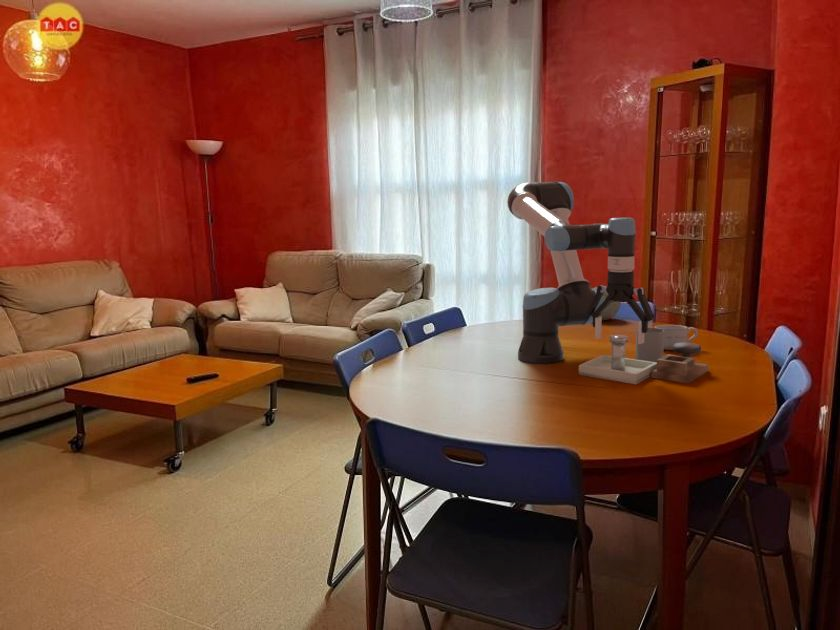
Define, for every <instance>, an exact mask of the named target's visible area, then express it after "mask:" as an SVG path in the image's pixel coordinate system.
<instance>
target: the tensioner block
mask: <svg viewBox="0 0 840 630" xmlns="http://www.w3.org/2000/svg"><path fill="white" fill-rule="evenodd" d="M672 351H673V352H675V353H677V354H681V355H677V354H676V355H675V354H665V355H663V357H661V358H659V359H657V368H656V369H654V370H652V371H651V377H650V378H653V379H660V380H666V381H671V382H678V383H685V384H691V383H692V382H694V381H695V380H698V378H700V377H701V376H703V375H704V374H706V373H707V372H708V371H709V364H706V363H705V364H703V363H697V362H696V357H692V355H696V354H697V355H698V354H700V353H702V346H701V345H699V344H698V343H694V342H688V343H676V344H674V345H673V350H672ZM690 382H691V383H690Z"/></svg>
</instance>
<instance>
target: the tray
mask: <svg viewBox="0 0 840 630" xmlns="http://www.w3.org/2000/svg"><path fill="white" fill-rule="evenodd" d="M656 368H657V362H650V361H643V360H636V358H628V357H625V371H618V370H612V369H611V355H607V354H601V355H600V356H599V355H598V356H597V357H594V358H592V359H590V360H587V361H585V362H583V363H581V364H579V365H578V375H579V376H584V377H591V378H596V379H602V380H606V381H607V380H608V381H612V382H613V381H614V382H621V383H624V384H625V383H626V384H631V385H637V384H640V383H641V382H643V381H646V380H647V379H649V378H652V377H651V371H652V370H654V369H656Z"/></svg>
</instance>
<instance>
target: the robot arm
mask: <svg viewBox="0 0 840 630" xmlns="http://www.w3.org/2000/svg"><path fill="white" fill-rule="evenodd" d="M574 201H575V197H574V193H573V190H572V188H571V187H570V185H569V184H568V183H565V182H562V181H555V180H553V181H547V182H546V181H544V182H543V181H542V182H541V181H539V182H538V181H535V182H534V181H533V182H532V181H531V182H529V181H528V182H522V183H520V184H517V185H516V186H515V187H514V188H513V189H512V190H511V191H510V193H509V194H508V197H507V207H508V210H509V212H510V214H512V215H513V216H514V217H515V218H516V219H518V220H523V221H524V222H526V223H528V225H530V227H532V229H533V228H534V229H535V231H537V232H538V233H540V234H541V235H542V236H543V237H544V245H546V248H547V250H549V251H550V255H551V258H552V263H553V266H554V269H555V275H556V278H557V282H558V286H557V287H542V288H535V289H532V290H529V291H527V292H526V293H525V294H524V295H523V297H522V299H523V300H522V328H523V329H522V333H523V334H522V339H521V341H520V345H519V348H518V351H517V358H518V360H519V361H522V362H526V363H528V364H530V363H531V364H554V363H558V362H562V361H563V360H564V356H565V354H564V349H563V347H562V343H561V340H560V335H559V327H566V326H567V327H568V326H579V325H581V326H584V325H589V324H592V327H593V328H595V329H594V339H595V340H599V339H601V338H602V321H603V320H602V317H600V314H601V313H602V312H603V310H604V309H605V308H606V307H607V306H608V305H609V304H610V303H611V302H612V301H614V302H617V301H619V302H620V303H626V304H627V305H629V307H630V308H631V309H632V310H633V312H634V313H635V315H636V316H637V317H638V319H639V320H640V321H638V328H637V329H638V344H642V343H644V335H645V333H646V332H647V331H648V328H649V326H648V325H649V322H650V321H652V320H655V318H656V317H655V314H654V312H653V310H652V308H651V306H650V303H649V301H648V299H647V297H646V291H645V288H644V287H640V288H635V286H634V284H635V272H634V271H633V270H635V249H636V234H637V232H636V221H635V219H634V218H632V217H612V218H611V217H610V218H609V220H608V223H603V222H602V223H599V222H598V223H597V222H596V223H591V224H590V223H589V224H570V221H569V217H570V216H571V214H572V211H573V209H574V205H575V202H574ZM599 249H600V250H601V249H603V250H605V249H606V250H607V270H608V272H607V277H606V279H607V282H606V283H607V285H604V284H601V285H597V286H596V287H597V290H596V289H593V288H592V286H591V283H590V281H589V280H588V279H585V277H584V275H583V271H582V266H581V264H580V259H579V255H578V252H577V251H579V250H599ZM606 286H607V287H606ZM605 291H607V293H608V294H609V295H608V296H607V298H606V299H605V300H604V302H603V303H602V298H601V297H602V296H603V293H605ZM634 294H635V296H637V298H638V300H639V303H640V305H639V304H638V302H637V301H636V299H635V297H634V296H633V295H634ZM640 306H641V307H640Z"/></svg>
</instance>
